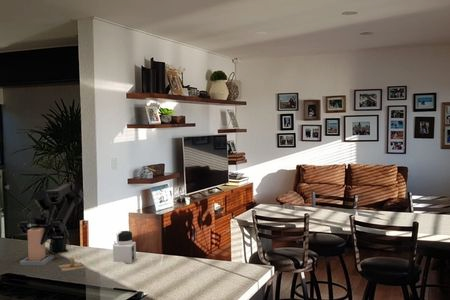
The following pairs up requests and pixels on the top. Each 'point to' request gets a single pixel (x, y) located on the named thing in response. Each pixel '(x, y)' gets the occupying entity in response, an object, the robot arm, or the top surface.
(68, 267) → the stake block
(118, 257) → the container
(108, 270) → the top surface
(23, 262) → the tray
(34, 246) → the sleeve
